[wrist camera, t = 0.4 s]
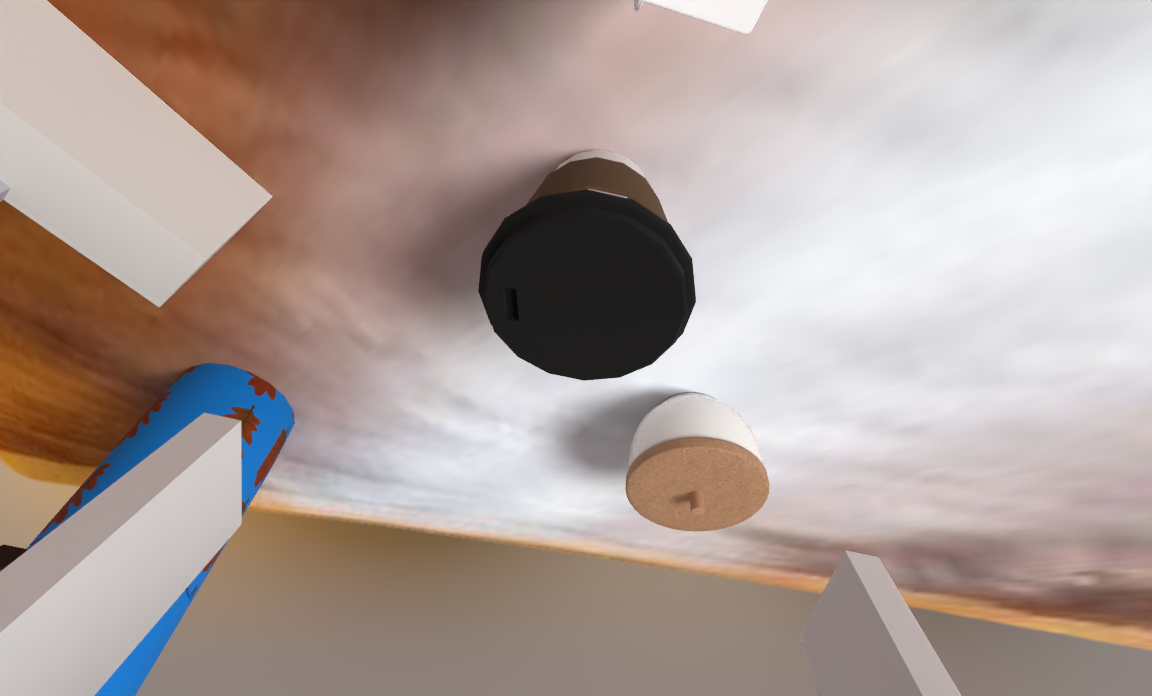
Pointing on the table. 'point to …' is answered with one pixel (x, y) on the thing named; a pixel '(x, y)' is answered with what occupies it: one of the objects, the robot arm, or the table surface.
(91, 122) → the white box with knob
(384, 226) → the table surface
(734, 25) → the milk
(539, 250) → the coffee cup
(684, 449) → the lidded jar
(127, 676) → the thermos
